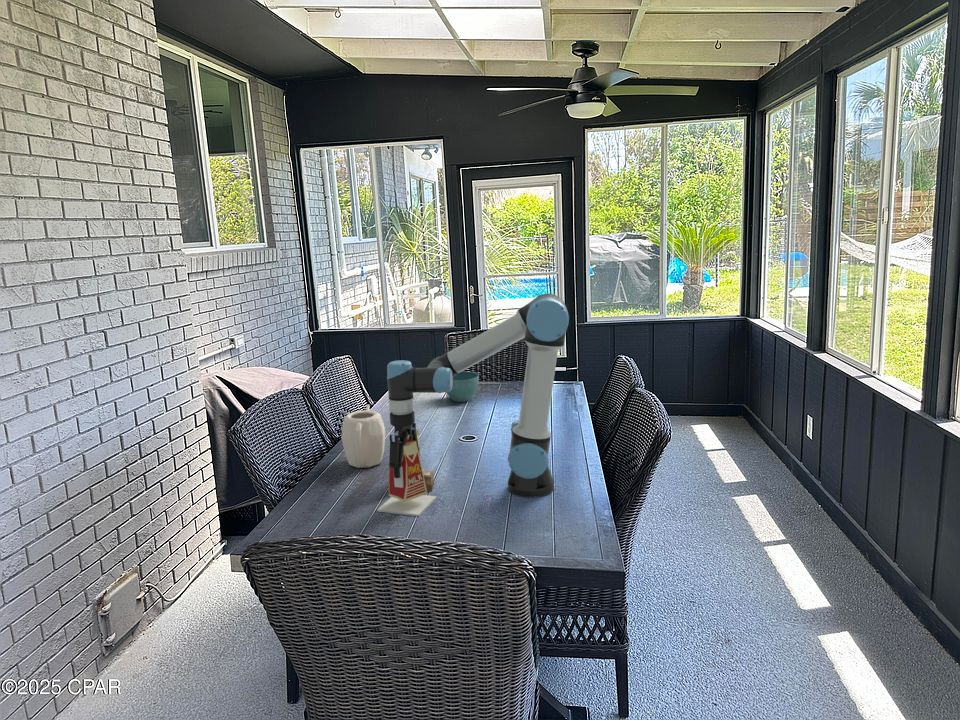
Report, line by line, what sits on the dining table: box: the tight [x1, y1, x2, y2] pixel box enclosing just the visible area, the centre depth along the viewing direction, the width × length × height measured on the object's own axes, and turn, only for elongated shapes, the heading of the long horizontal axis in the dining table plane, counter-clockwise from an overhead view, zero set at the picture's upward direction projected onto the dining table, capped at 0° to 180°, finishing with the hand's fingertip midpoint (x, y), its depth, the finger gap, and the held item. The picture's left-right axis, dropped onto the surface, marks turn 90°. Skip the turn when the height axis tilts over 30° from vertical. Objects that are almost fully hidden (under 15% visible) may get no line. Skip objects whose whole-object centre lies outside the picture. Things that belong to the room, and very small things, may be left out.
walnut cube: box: [423, 470, 435, 492], centre depth 223 cm, size 5×5×5 cm
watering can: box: [341, 404, 386, 469], centre depth 247 cm, size 16×27×19 cm, turn 1°
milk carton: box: [388, 435, 428, 502], centre depth 208 cm, size 9×9×20 cm
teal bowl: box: [446, 371, 480, 403], centre depth 330 cm, size 18×18×12 cm
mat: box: [376, 494, 438, 517], centre depth 210 cm, size 14×14×1 cm
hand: (406, 480), depth 209 cm, fingers closed on milk carton, 9 cm apart
